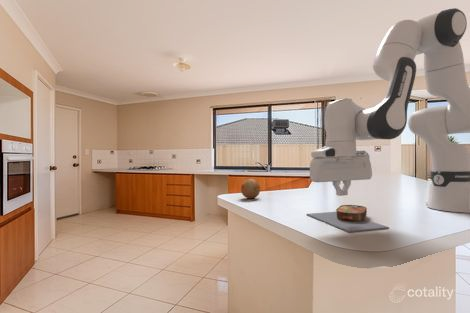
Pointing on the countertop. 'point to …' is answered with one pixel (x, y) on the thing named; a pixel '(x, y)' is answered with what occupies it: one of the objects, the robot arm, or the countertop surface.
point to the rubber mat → (347, 222)
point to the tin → (351, 212)
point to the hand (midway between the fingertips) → (342, 195)
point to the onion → (250, 188)
